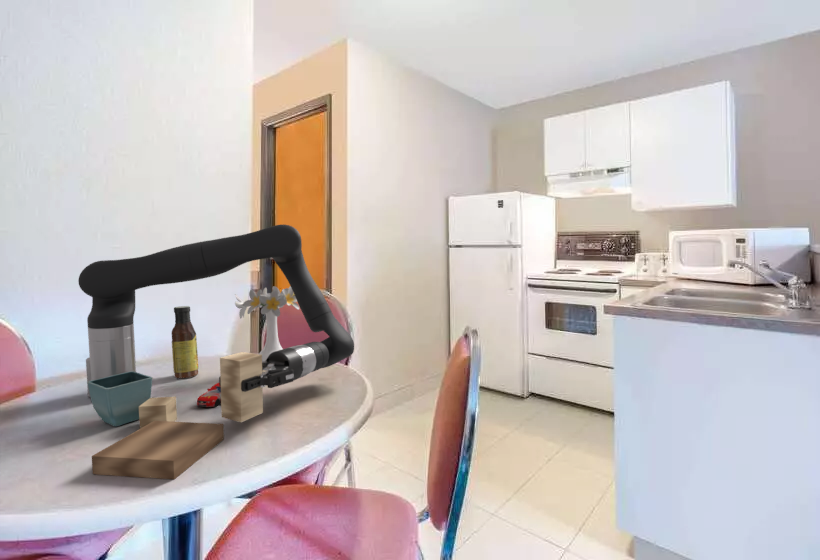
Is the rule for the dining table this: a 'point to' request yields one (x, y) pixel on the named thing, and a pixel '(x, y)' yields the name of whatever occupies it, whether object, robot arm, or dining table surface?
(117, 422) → the flower pot
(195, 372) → the sauce bottle
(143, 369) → the dining table surface
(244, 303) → the flower vase
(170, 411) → the oak cube
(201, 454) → the walnut slab
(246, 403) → the oak pillar
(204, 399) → the race car
